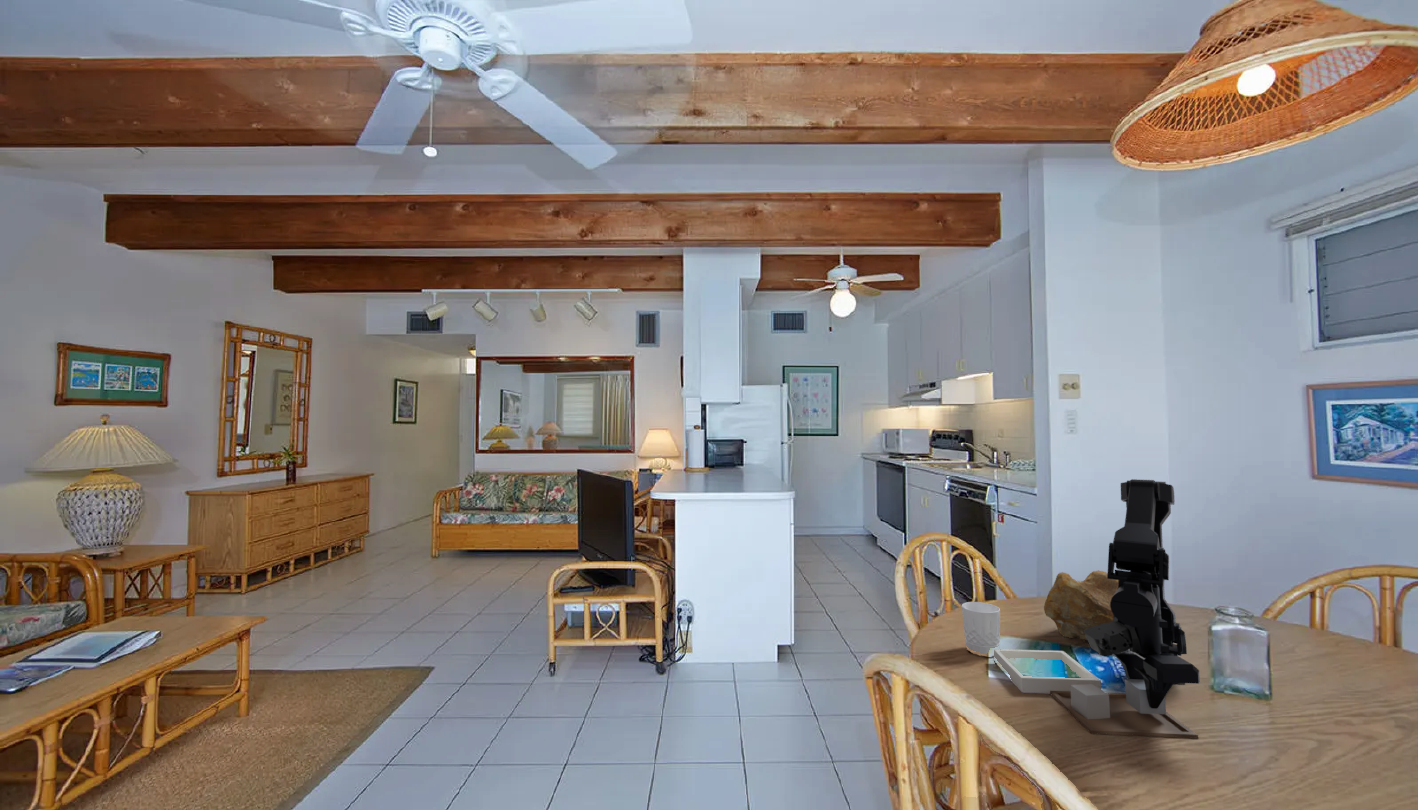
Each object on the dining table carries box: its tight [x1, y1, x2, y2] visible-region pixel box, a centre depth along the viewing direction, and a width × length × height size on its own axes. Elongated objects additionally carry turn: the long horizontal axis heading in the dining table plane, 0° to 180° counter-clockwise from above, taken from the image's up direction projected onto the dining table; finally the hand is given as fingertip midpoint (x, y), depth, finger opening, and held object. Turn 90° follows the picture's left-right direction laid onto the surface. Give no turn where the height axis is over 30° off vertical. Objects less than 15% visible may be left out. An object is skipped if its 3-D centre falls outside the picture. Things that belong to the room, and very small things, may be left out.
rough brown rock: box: [1043, 570, 1118, 641], centre depth 133 cm, size 23×17×15 cm
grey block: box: [1124, 678, 1167, 714], centre depth 97 cm, size 4×4×4 cm
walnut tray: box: [1049, 691, 1199, 739], centre depth 97 cm, size 16×14×1 cm
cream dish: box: [993, 648, 1102, 695], centre depth 112 cm, size 14×14×3 cm
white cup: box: [961, 601, 1001, 654], centre depth 127 cm, size 8×8×10 cm
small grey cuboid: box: [1070, 684, 1110, 719], centre depth 98 cm, size 4×4×4 cm
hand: (1145, 701), depth 97 cm, fingers closed on grey block, 4 cm apart
